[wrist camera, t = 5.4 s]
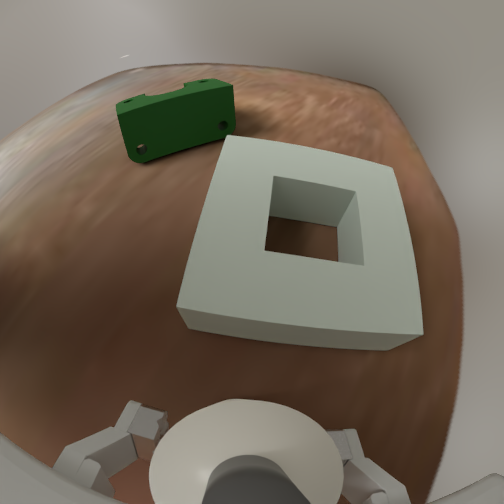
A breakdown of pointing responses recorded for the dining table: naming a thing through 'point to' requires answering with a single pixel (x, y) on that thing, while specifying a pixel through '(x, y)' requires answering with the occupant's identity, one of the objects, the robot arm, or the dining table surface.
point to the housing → (298, 267)
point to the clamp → (176, 119)
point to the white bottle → (246, 458)
